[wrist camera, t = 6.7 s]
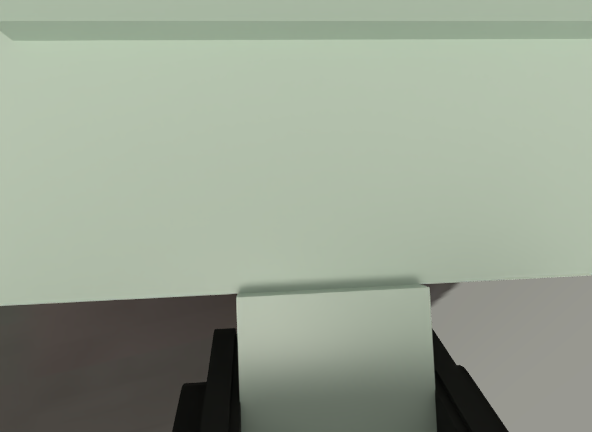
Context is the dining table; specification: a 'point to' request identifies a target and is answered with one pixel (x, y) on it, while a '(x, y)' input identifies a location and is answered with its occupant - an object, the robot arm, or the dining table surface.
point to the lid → (297, 175)
